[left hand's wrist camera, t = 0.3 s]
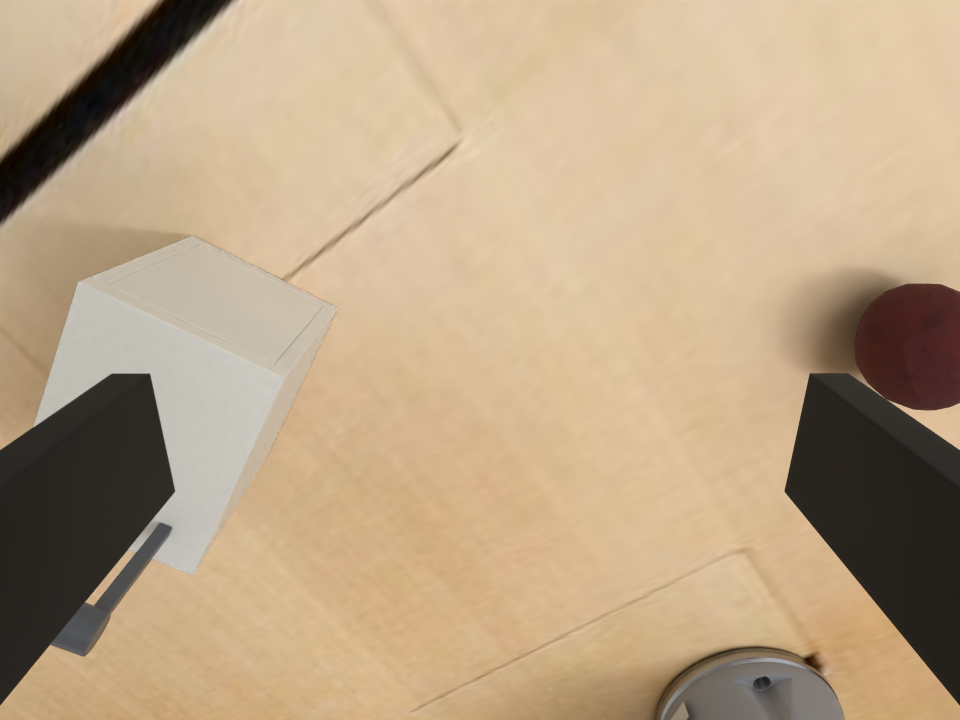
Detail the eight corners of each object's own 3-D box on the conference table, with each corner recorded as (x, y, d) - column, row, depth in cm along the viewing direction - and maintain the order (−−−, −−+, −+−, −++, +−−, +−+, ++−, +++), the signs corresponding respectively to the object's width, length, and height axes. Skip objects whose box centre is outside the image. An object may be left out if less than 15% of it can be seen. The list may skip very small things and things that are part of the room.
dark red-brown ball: (856, 399, 42) (925, 450, 36) (812, 309, 40) (877, 346, 33) (961, 343, 41) (1053, 386, 34) (922, 247, 38) (1013, 273, 32)
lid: (199, 565, 34) (113, 702, 26) (20, 493, 33) (-131, 616, 24) (290, 371, 30) (219, 464, 22) (89, 276, 28) (-68, 338, 20)
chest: (266, 458, 44) (203, 558, 34) (131, 399, 43) (23, 486, 32) (338, 307, 40) (290, 370, 30) (192, 234, 38) (89, 276, 28)
